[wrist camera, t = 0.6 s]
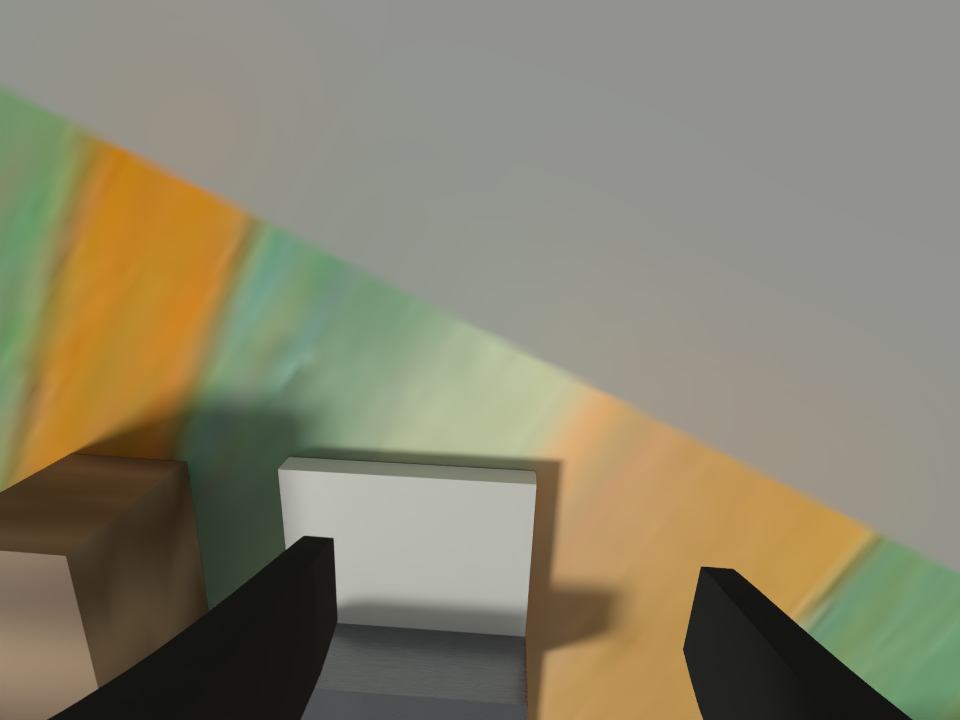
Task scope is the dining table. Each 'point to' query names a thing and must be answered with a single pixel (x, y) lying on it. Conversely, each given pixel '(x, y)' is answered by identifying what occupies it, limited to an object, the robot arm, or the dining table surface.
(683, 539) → the dining table surface
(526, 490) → the fulcrum board
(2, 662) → the walnut beam
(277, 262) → the dining table surface
